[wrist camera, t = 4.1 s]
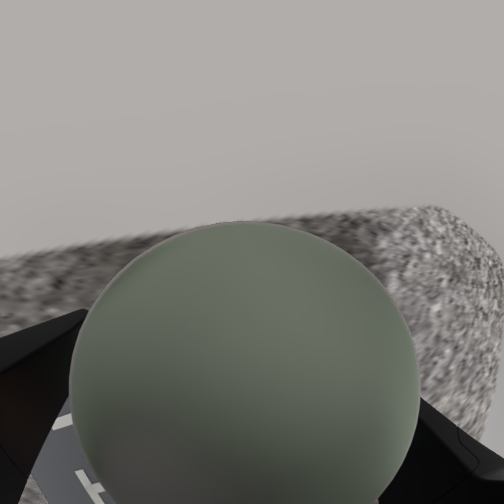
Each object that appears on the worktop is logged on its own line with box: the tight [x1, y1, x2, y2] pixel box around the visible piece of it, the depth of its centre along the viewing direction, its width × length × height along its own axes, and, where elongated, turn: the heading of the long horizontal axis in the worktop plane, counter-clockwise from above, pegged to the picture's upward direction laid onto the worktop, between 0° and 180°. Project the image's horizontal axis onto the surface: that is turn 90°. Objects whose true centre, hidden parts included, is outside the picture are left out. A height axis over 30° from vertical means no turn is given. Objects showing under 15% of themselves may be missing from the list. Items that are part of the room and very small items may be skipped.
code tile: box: [31, 396, 117, 504], centre depth 11 cm, size 10×8×1 cm
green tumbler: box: [69, 221, 421, 504], centre depth 9 cm, size 6×6×12 cm
